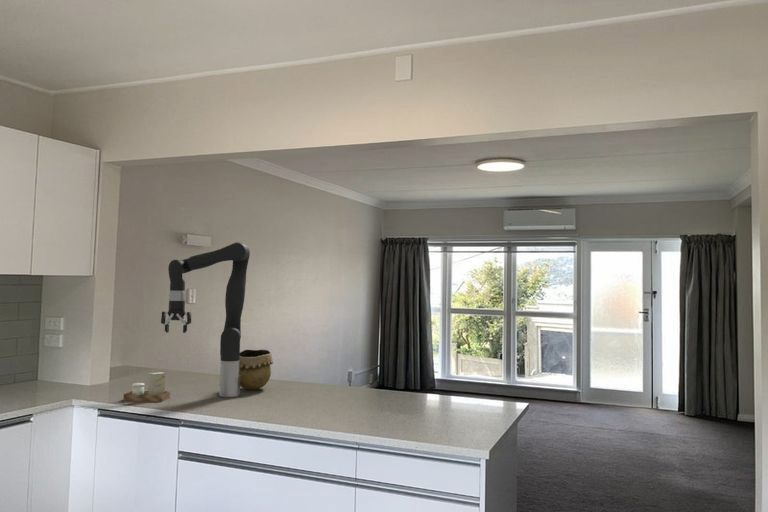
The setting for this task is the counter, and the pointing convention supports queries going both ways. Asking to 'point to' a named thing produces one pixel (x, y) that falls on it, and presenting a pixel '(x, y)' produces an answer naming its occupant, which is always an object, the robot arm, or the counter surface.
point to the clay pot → (255, 368)
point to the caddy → (146, 397)
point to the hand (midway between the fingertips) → (175, 332)
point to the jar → (138, 388)
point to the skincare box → (156, 383)
